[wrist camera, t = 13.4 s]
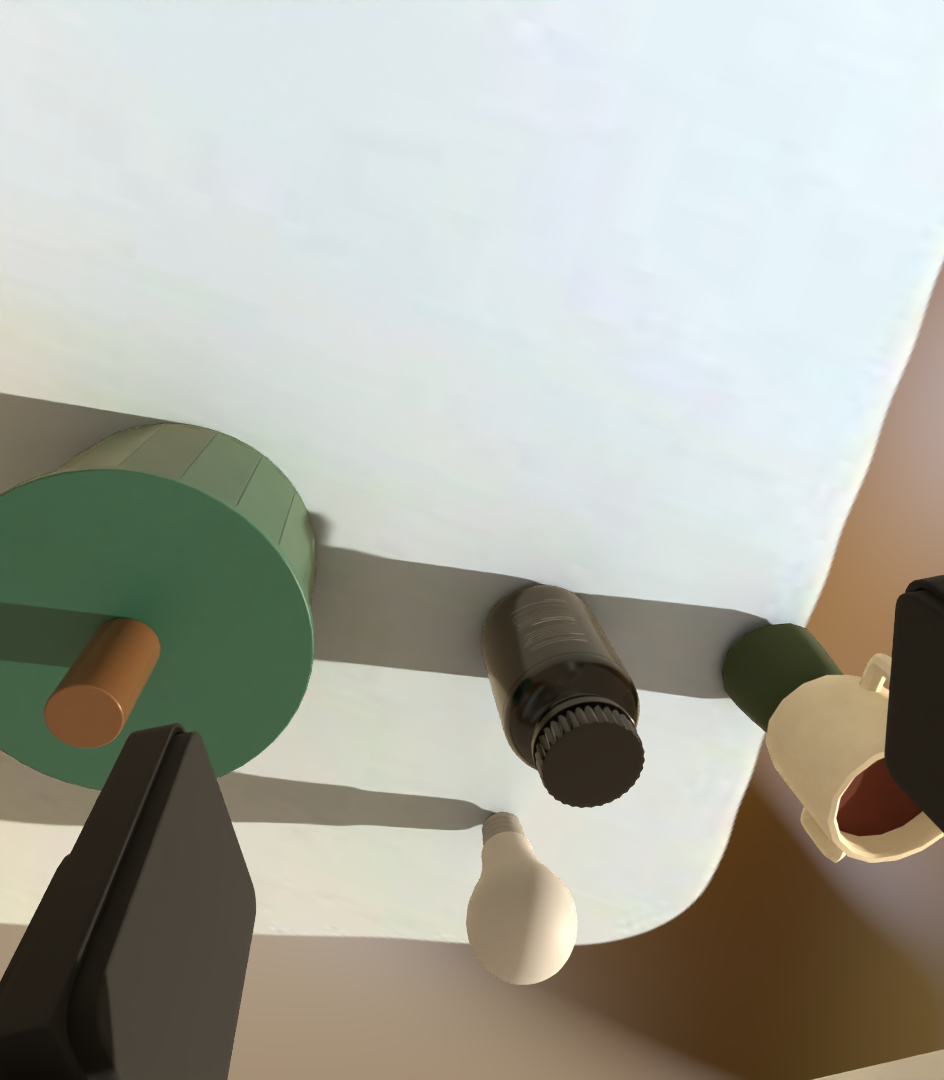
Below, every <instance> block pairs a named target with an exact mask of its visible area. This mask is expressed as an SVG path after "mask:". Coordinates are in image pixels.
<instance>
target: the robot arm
mask: <svg viewBox="0 0 944 1080" xmlns="http://www.w3.org/2000/svg"><path fill="white" fill-rule="evenodd" d="M884 758H885V763H886V767H887V770H888V772H889V774H890V776H891V778H892V779H893V781H894V782H895V783H896V784H897V785H898V786H899V787H900V788H901V789H902V791H903V792H904V793H905V794H906V795H907V796H908V797H909V798H910V799H911V800H912V801H913V802H914V803H915V804H916V805H917V806H918V807H919V808H920V809H921V810H922V811H923V812H924V813H925V814H926V815H927V816H928V817H929V819H930V820H931V821H932V822H933V823H934V824H935V825H936V826H937V827H938V828H939V829H940V830H941V831H942V832H943V833H944V575H941V576H935V577H930V578H925V579H920V580H915V581H913V582H912V583H910V584H909V585H908V587H907V589H906V592H905V593H904V594H902V595H900V596H899V598H898V600H897V603H896V609H895V622H894V635H893V649H892V661H891V673H890V686H889V699H888V712H887V725H886V738H885V751H884ZM255 915H256V899H255V891H254V887H253V883H252V881H251V878H250V875H249V872H248V869H247V866H246V863H245V860H244V857H243V854H242V852H241V849H240V846H239V843H238V840H237V837H236V834H235V831H234V828H233V826H232V823H231V820H230V817H229V814H228V811H227V808H226V805H225V802H224V799H223V797H222V794H221V791H220V788H219V785H218V782H217V779H216V776H215V773H214V771H213V768H212V765H211V762H210V759H209V756H208V753H207V750H206V747H205V744H204V742H203V739H202V737H201V735H200V734H199V733H198V732H197V731H193V732H188V733H187V732H186V730H185V728H184V727H183V726H182V725H181V724H179V723H174V724H169V725H164V726H159V727H154V728H149V729H143V730H138V731H134V732H132V733H131V734H130V735H129V737H128V738H127V740H126V742H125V744H124V746H123V748H122V750H121V752H120V754H119V756H118V758H117V760H116V762H115V764H114V766H113V768H112V770H111V772H110V774H109V777H108V779H107V781H106V783H105V785H104V787H103V789H102V791H101V793H100V795H99V797H98V799H97V801H96V803H95V805H94V807H93V809H92V811H91V813H90V815H89V817H88V819H87V821H86V823H85V825H84V827H83V829H82V831H81V833H80V835H79V837H78V839H77V841H76V843H75V845H74V847H73V849H72V851H71V853H70V854H69V855H67V856H66V857H65V858H64V859H63V861H62V862H61V864H60V865H59V867H58V868H57V870H56V872H55V874H54V876H53V878H52V880H51V882H50V884H49V886H48V888H47V890H46V892H45V894H44V896H43V898H42V900H41V902H40V904H39V906H38V908H37V910H36V912H35V914H34V916H33V918H32V920H31V922H30V924H29V926H28V928H27V930H26V932H25V934H24V936H23V938H22V940H21V942H20V944H19V946H18V948H17V950H16V952H15V954H14V955H13V957H12V959H11V961H10V963H9V965H8V967H7V969H6V971H5V973H4V975H3V977H2V979H1V981H0V1080H227V1078H228V1072H229V1066H230V1060H231V1055H232V1049H233V1043H234V1037H235V1032H236V1026H237V1020H238V1014H239V1009H240V1003H241V997H242V991H243V985H244V980H245V974H246V968H247V963H248V957H249V950H250V945H251V940H252V934H253V928H254V922H255ZM814 1080H944V1050H939V1051H935V1052H931V1053H926V1054H922V1055H918V1056H913V1057H909V1058H905V1059H901V1060H896V1061H892V1062H888V1063H883V1064H879V1065H874V1066H870V1067H866V1068H861V1069H857V1070H853V1071H849V1072H844V1073H840V1074H835V1075H831V1076H827V1077H823V1078H818V1079H814Z"/></svg>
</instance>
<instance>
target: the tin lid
mask: <svg viewBox="0 0 944 1080" xmlns="http://www.w3.org/2000/svg"><path fill="white" fill-rule="evenodd" d="M314 647H315V645H314V624H313V619H312V613H311V608H310V604H309V601H308V598H307V595H306V592H305V589H304V586H303V584H302V582H301V580H300V578H299V576H298V574H297V572H296V570H295V568H294V566H293V565H292V563H291V562H290V560H289V559H288V557H287V556H286V554H285V553H284V551H283V550H282V548H281V547H280V546H279V545H278V544H277V542H276V541H275V540H274V539H273V538H272V537H271V536H270V535H269V533H268V532H267V531H266V530H265V529H264V528H263V527H262V526H261V525H259V524H258V523H257V522H256V521H255V520H254V519H253V518H251V517H250V516H249V515H248V514H247V513H246V512H244V511H243V510H241V509H240V508H238V507H237V506H235V505H234V504H232V503H231V502H229V501H228V500H227V499H225V498H223V497H221V496H220V495H218V494H216V493H214V492H212V491H210V490H208V489H206V488H204V487H202V486H200V485H197V484H195V483H192V482H190V481H187V480H184V479H182V478H179V477H176V476H173V475H169V474H165V473H161V472H157V471H153V470H149V469H141V468H134V467H126V466H87V467H78V468H69V469H64V470H60V471H56V472H52V473H48V474H43V475H41V476H38V477H35V478H33V479H30V480H28V481H25V482H22V483H20V484H18V485H16V486H14V487H12V488H11V489H9V490H7V491H5V492H3V493H2V494H0V749H1V750H2V751H4V752H5V753H7V754H8V755H10V756H12V757H13V758H15V759H16V760H18V761H19V762H21V763H23V764H25V765H27V766H29V767H31V768H33V769H35V770H37V771H39V772H41V773H43V774H45V775H48V776H51V777H53V778H56V779H59V780H61V781H64V782H67V783H71V784H75V785H78V786H82V787H86V788H90V789H97V790H102V789H103V787H104V785H105V783H106V781H107V779H108V777H109V774H110V772H111V770H112V768H113V766H114V764H115V762H116V760H117V758H118V756H119V754H120V752H121V750H122V748H123V746H124V744H125V742H126V740H127V738H128V737H129V735H130V734H131V733H132V732H134V731H138V730H143V729H149V728H154V727H159V726H164V725H169V724H174V723H179V724H181V725H182V726H183V727H184V728H185V730H186V732H187V733H188V732H193V731H197V732H198V733H199V734H200V735H201V737H202V739H203V742H204V744H205V747H206V750H207V753H208V756H209V759H210V762H211V765H212V768H213V771H214V773H215V776H216V778H219V777H221V776H224V775H226V774H228V773H230V772H231V771H233V770H235V769H237V768H239V767H241V766H243V765H244V764H246V763H247V762H249V761H250V760H251V759H253V758H254V757H256V756H257V755H259V754H260V753H261V752H262V751H263V750H264V749H266V748H267V747H268V746H269V745H270V744H271V743H272V742H273V741H274V740H275V739H276V738H277V737H278V736H279V735H280V734H281V732H282V731H283V730H284V729H285V728H286V727H287V725H288V724H289V722H290V721H291V719H292V717H293V716H294V714H295V713H296V711H297V710H298V708H299V706H300V703H301V701H302V699H303V697H304V694H305V692H306V689H307V686H308V682H309V679H310V675H311V671H312V664H313V656H314Z"/></svg>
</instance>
